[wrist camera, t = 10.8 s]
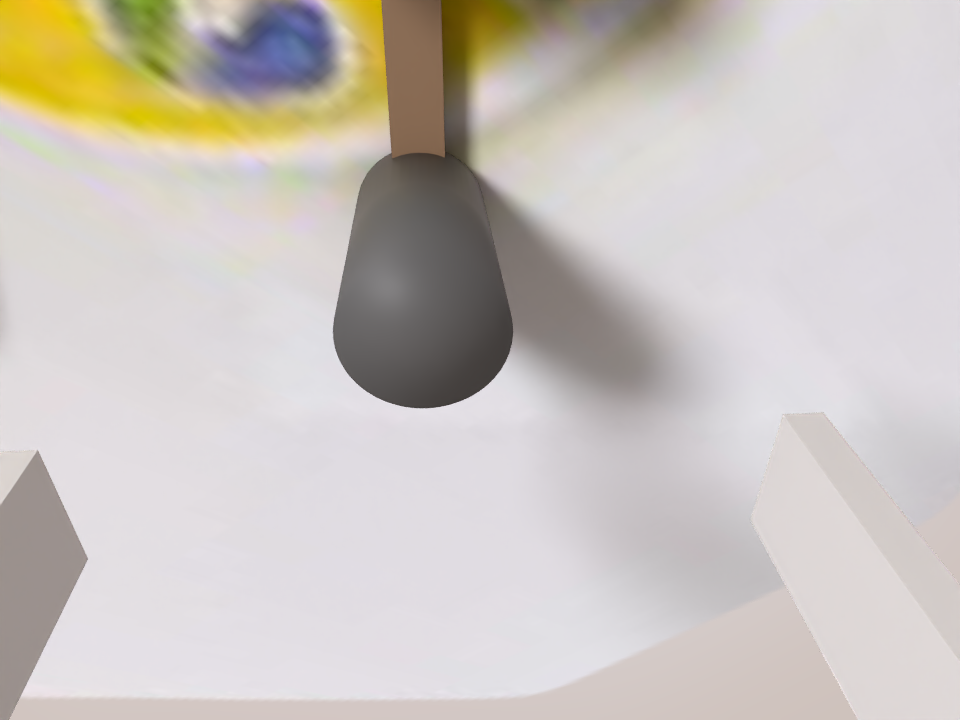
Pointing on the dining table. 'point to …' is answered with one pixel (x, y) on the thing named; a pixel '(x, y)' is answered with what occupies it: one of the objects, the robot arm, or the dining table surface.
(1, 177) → the dining table surface
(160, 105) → the dining table surface
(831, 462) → the robot arm
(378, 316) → the block
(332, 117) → the dining table surface
